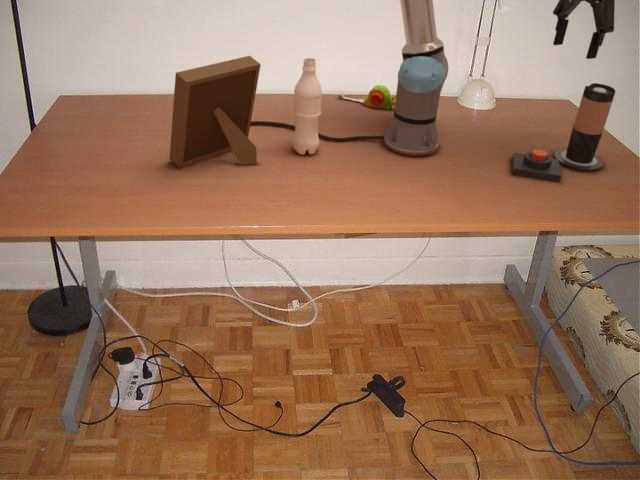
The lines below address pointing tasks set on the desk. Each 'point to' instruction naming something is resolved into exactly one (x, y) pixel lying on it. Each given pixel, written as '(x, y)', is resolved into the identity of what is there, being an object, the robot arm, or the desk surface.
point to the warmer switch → (535, 167)
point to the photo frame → (214, 111)
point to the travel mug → (590, 122)
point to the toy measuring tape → (376, 98)
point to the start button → (539, 155)
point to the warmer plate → (581, 167)
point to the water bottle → (307, 109)
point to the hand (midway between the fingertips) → (573, 51)
